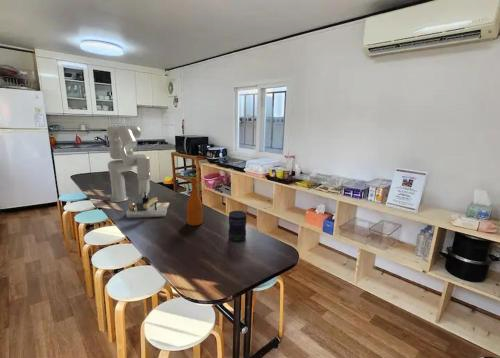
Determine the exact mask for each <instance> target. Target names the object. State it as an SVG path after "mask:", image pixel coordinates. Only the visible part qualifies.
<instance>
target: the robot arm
mask: <svg viewBox="0 0 500 358" xmlns="http://www.w3.org/2000/svg"><path fill="white" fill-rule="evenodd" d="M106 135H107V138H108V140H109V157H110V158H111V159H112V160H110V161H108V163H107V169H108V172H109V178H110V188H111V194H106V198H107V199H109V201H110V202H112V203H120V202H121V203H122V202H125V201H128V200H129V196H127V192H126V181H125V176H124V175H123V174H122V173H124V172H131V171H132V170H133V168H134V167H136V173H137V174H136V175H137V180H138V195H139V196H141V197H142V200H141V201H143V204H144V203H146V202H148V201H149V193H150V189H151V188H150V186H151V185H150V184H151V183H150V179H151V160H150V157H149V156H147V155H145V154H142V153H139V154H134V148H136V147H137V145H138V141H137V139H139V138H140V137H141V135H142V131H141V129H140V127H139V126H137V125H112V126H111V125H110V126H108V127H107V128H106Z"/></svg>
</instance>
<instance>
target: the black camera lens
mask: <svg viewBox="0 0 500 358" xmlns="http://www.w3.org/2000/svg"><path fill="white" fill-rule="evenodd" d="M246 227H247V212H245V211H242V210H232V211H229V213H228V241H229V242H230V243H233V242H234V244H240V243H244V242H245V241H247V240H246V239H247V238H246V237H247V228H246Z"/></svg>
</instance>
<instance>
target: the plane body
mask: <svg viewBox="0 0 500 358" xmlns="http://www.w3.org/2000/svg"><path fill="white" fill-rule="evenodd" d="M157 203H158V200H157V201H156V202H155V203H153V204H154V207H152V206H149V207H148V209H147V210H139V211H137V206H136V203H135V202H130V203H128V209H127V210H126V219H127V218H152V217H155V218H157V217H158V218H159V217H166V215H167V213H168V208H167V206H157Z"/></svg>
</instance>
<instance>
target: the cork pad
mask: <svg viewBox="0 0 500 358" xmlns="http://www.w3.org/2000/svg"><path fill="white" fill-rule="evenodd" d="M157 206H167V209H168V208H169V206H170V202H157ZM151 207H154V203H153V204H152V205H151Z"/></svg>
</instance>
